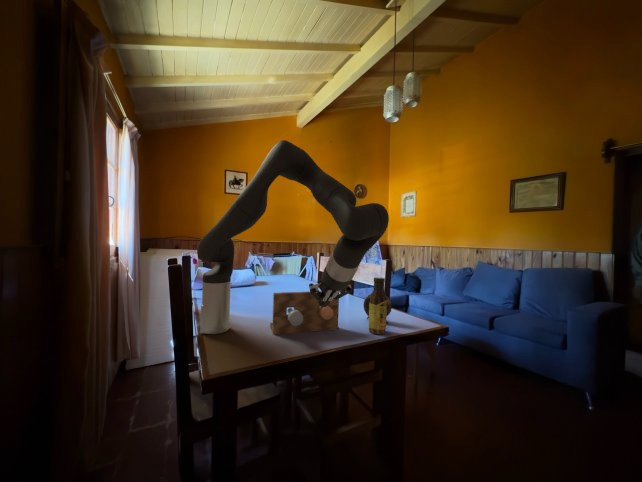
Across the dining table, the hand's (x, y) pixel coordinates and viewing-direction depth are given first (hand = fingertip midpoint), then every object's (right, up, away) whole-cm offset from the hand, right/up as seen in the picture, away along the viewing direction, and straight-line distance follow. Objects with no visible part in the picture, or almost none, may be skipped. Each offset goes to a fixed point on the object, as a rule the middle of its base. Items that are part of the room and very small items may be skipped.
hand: (322, 304), depth 80 cm
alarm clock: (+22, -15, +31) cm, 41 cm away
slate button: (-10, -8, +11) cm, 17 cm away
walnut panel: (-7, -13, +20) cm, 25 cm away
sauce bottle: (+20, -15, +18) cm, 31 cm away
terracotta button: (0, -8, +18) cm, 20 cm away
